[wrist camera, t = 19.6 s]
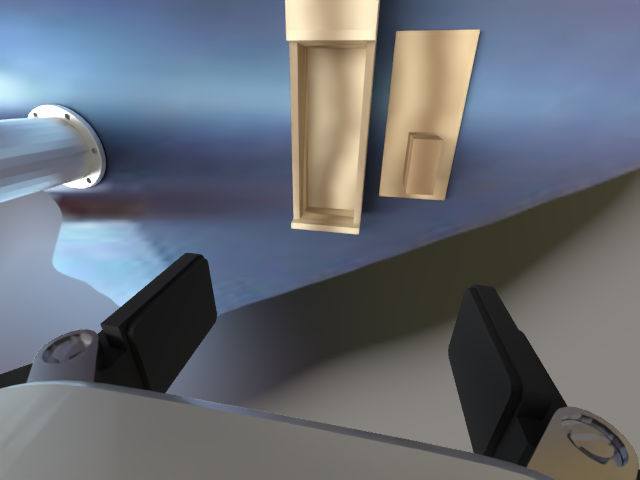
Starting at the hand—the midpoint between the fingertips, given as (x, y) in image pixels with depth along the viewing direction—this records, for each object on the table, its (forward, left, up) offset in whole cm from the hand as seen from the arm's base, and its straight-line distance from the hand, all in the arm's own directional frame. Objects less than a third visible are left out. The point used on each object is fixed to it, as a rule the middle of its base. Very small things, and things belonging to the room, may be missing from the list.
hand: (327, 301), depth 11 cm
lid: (+7, +4, -33) cm, 34 cm away
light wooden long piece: (-4, +5, -32) cm, 33 cm away
